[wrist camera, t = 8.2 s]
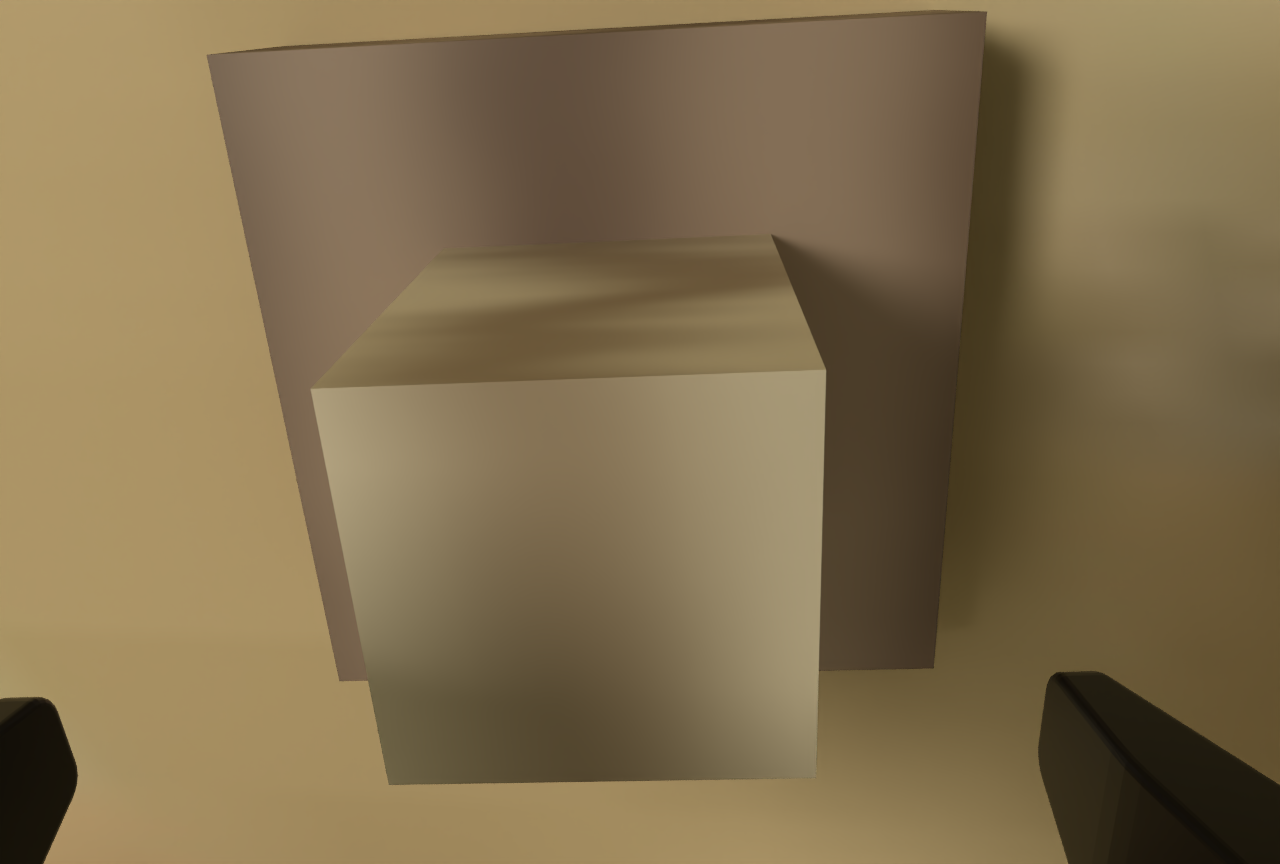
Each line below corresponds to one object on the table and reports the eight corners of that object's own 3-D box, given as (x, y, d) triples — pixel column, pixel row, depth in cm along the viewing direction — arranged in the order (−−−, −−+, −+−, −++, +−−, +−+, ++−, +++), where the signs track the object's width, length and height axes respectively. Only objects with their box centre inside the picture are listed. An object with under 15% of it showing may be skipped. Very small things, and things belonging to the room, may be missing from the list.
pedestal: (934, 10, 16) (986, 11, 14) (899, 579, 21) (933, 667, 18) (283, 46, 17) (206, 55, 14) (383, 593, 21) (339, 681, 18)
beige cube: (770, 233, 15) (826, 368, 9) (770, 525, 17) (816, 778, 11) (443, 248, 15) (310, 389, 10) (481, 533, 17) (388, 784, 12)
